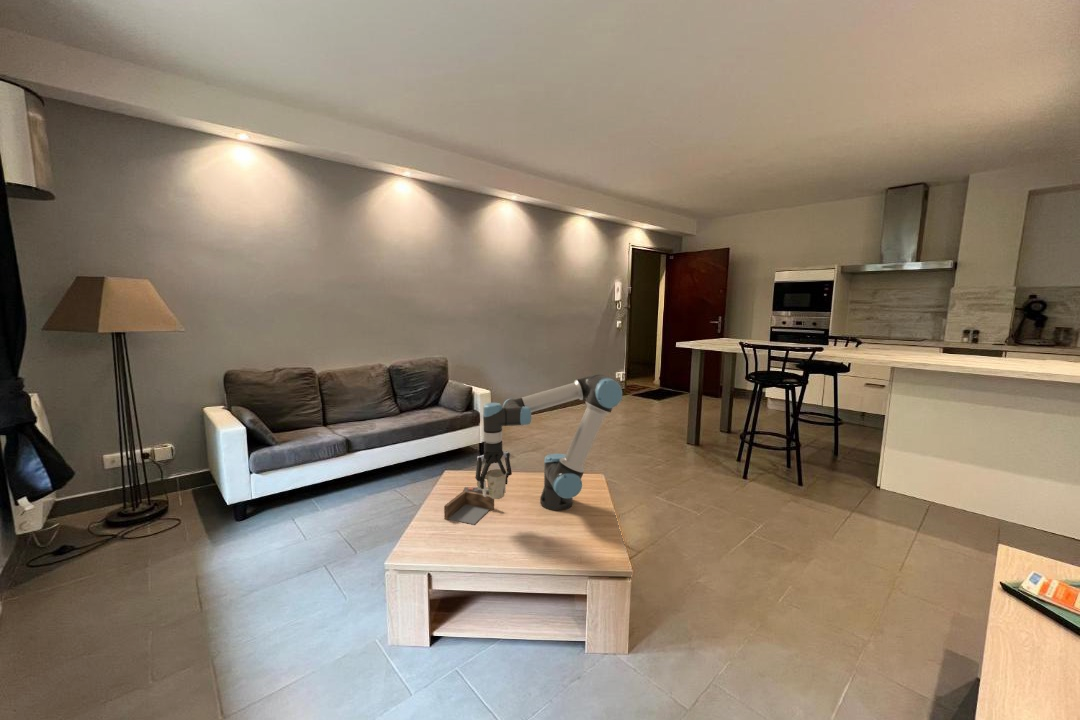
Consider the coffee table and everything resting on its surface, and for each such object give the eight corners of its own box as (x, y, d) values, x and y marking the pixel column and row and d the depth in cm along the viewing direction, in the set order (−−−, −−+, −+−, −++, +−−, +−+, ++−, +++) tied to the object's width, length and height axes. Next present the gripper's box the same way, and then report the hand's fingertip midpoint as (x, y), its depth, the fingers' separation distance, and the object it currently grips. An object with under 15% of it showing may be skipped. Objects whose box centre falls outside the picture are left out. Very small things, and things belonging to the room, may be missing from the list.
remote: (497, 491, 210) (496, 486, 209) (495, 495, 205) (495, 490, 205) (464, 491, 210) (464, 486, 210) (463, 495, 206) (462, 490, 205)
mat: (490, 509, 191) (490, 508, 191) (474, 524, 178) (474, 524, 178) (465, 504, 195) (465, 504, 195) (448, 519, 182) (448, 518, 182)
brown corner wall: (494, 508, 192) (494, 495, 191) (476, 525, 177) (476, 512, 176) (464, 502, 198) (464, 490, 197) (444, 519, 182) (444, 505, 182)
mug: (505, 500, 172) (504, 477, 171) (474, 500, 173) (474, 476, 172) (508, 491, 180) (507, 469, 179) (479, 491, 182) (478, 468, 180)
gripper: (513, 435, 182) (514, 485, 184) (466, 441, 173) (467, 494, 176) (519, 440, 175) (520, 492, 178) (471, 447, 166) (472, 502, 169)
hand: (494, 493), depth 177 cm, fingers closed on mug, 8 cm apart
